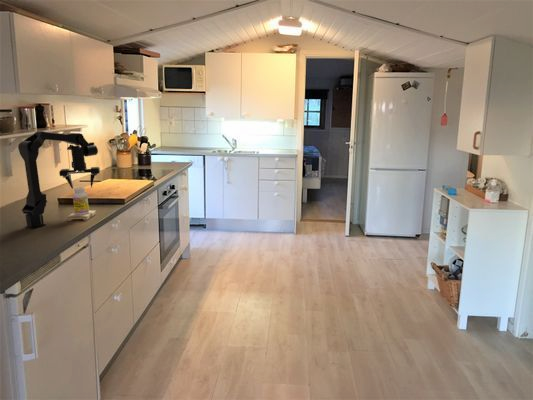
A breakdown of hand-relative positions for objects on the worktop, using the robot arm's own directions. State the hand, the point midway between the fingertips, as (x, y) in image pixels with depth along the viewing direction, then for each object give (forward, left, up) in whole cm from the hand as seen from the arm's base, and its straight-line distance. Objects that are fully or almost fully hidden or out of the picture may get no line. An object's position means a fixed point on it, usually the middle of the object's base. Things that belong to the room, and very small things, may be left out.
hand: (82, 187), depth 226 cm
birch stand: (-7, -6, -13) cm, 16 cm away
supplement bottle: (-7, -6, -11) cm, 15 cm away
